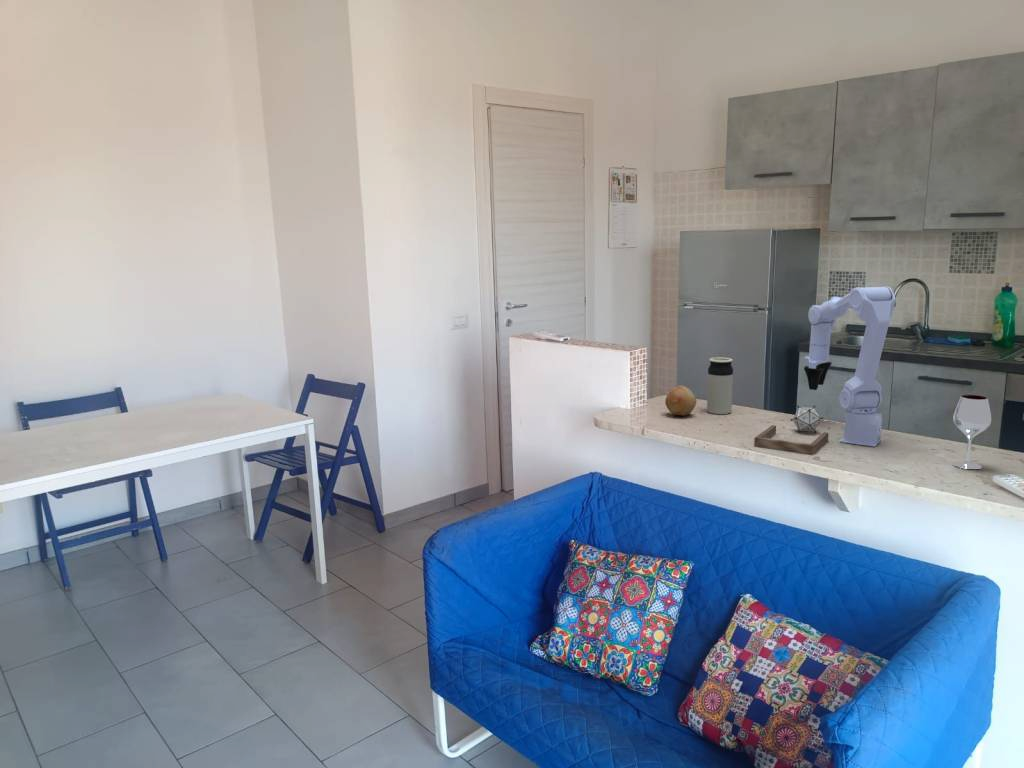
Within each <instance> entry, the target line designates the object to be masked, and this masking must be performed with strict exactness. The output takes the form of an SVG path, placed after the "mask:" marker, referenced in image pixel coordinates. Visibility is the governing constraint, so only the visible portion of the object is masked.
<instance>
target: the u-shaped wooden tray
mask: <svg viewBox="0 0 1024 768" xmlns="http://www.w3.org/2000/svg"><path fill="white" fill-rule="evenodd" d="M776 434H777V425H771V426H769V427H767V428H766V429H764V430H763V431H762V432H760V433H759V434H757V435H756V436H754V442H753V443H754V444H753V446H754V447H756V446H757V448H763V449H770V450H777V451H783V450H784V451H783V452H790V451H791V452H790V453H797V452H798V453H799V454H803V455H804V454H805V455H810V454H812V456H814V455H813V454H816V453H817V452H819V450H820V449H821V448H822V447H823V446H824V445H826V444H827V443H828V442H829V435H830V434H829V432H828V431H827V432H825V431H824V432H822V433H821V434H820V435H819V436H818V437H817V438H816V439H815V440H813V441H812V442H811V443H804V442H798V441H797V442H796V441H789V440H783V439H775V438H772V437H774V436H775V435H776ZM798 453H797V454H798Z"/></svg>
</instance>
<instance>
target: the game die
mask: <svg viewBox="0 0 1024 768" xmlns="http://www.w3.org/2000/svg"><path fill="white" fill-rule="evenodd" d="M796 406H797V410H796V411H795V414H794V415H793V418H790V421H791V422H792V421H793V423H794V424H795V426H796V428H797V429H798V431H797V434H799V433H800V432H813V433H815V434H817V431H816V429H817V427H818V426H819V424H820V421H821V420H824V417H821V416H820V415H819V413H818V412H817V410H816V409H815V408H816V405H813V407H808V406H805V407H802V406H801V407H800V406H799V405H798V404H797V405H796Z"/></svg>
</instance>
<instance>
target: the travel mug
mask: <svg viewBox="0 0 1024 768" xmlns="http://www.w3.org/2000/svg"><path fill="white" fill-rule="evenodd" d="M708 360H709V363H710V365H709V366H708V369H707V396H706V397H707V399H706V412H708V413H710V414H712V413H713V415H719V414H720V415H728V413H729V414H730V413H732V407H733V404H732V403H733V379H734V368H733V366H732V362H733V359H732V358H730V357H722V356H721V357H720V356H719V357H711V358H709V359H708Z"/></svg>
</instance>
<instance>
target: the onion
mask: <svg viewBox="0 0 1024 768" xmlns="http://www.w3.org/2000/svg"><path fill="white" fill-rule="evenodd" d="M664 402H665V406H666V408H667V410H668V411H669V412H670V413H671V414H673V415H675V416H683V417H684V416H688V415H689V414H690V413H692V412H693V411H694V410H695V407H696V405H697V398H696V395H695V394H694V393H693V391H692V390H691V389H690V388H688V387H687V386H684V385H676V386H675V387H673V388H672V389H671V390H670V391H669V392H668V393H667V395H666V398H665V401H664Z"/></svg>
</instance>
